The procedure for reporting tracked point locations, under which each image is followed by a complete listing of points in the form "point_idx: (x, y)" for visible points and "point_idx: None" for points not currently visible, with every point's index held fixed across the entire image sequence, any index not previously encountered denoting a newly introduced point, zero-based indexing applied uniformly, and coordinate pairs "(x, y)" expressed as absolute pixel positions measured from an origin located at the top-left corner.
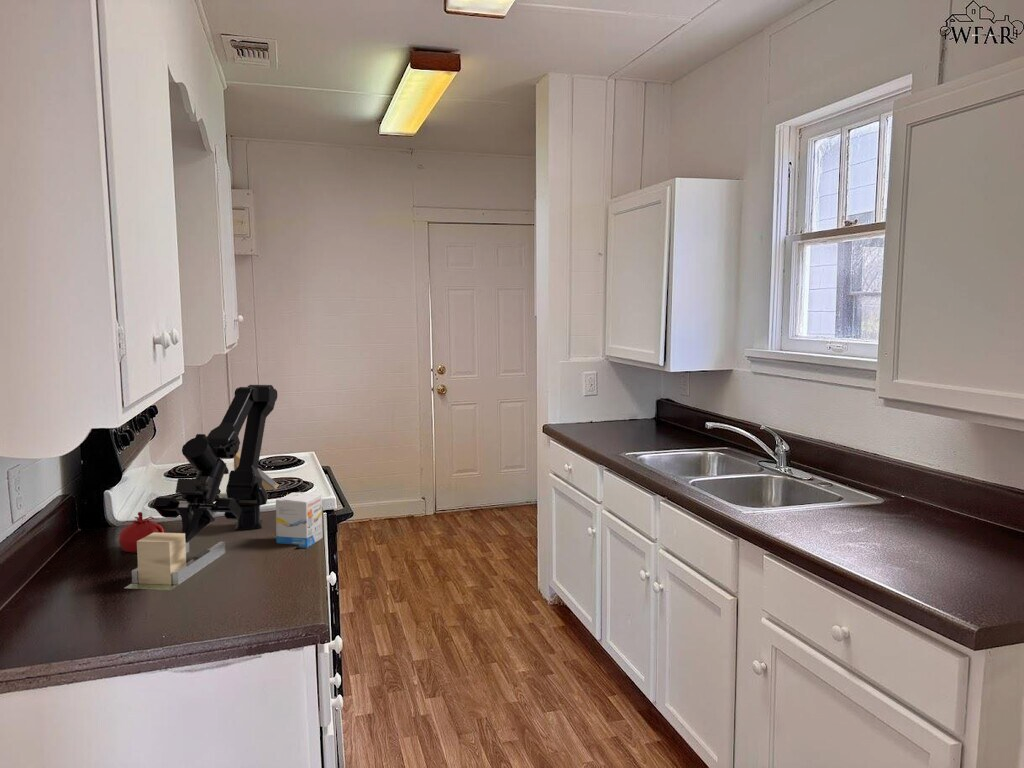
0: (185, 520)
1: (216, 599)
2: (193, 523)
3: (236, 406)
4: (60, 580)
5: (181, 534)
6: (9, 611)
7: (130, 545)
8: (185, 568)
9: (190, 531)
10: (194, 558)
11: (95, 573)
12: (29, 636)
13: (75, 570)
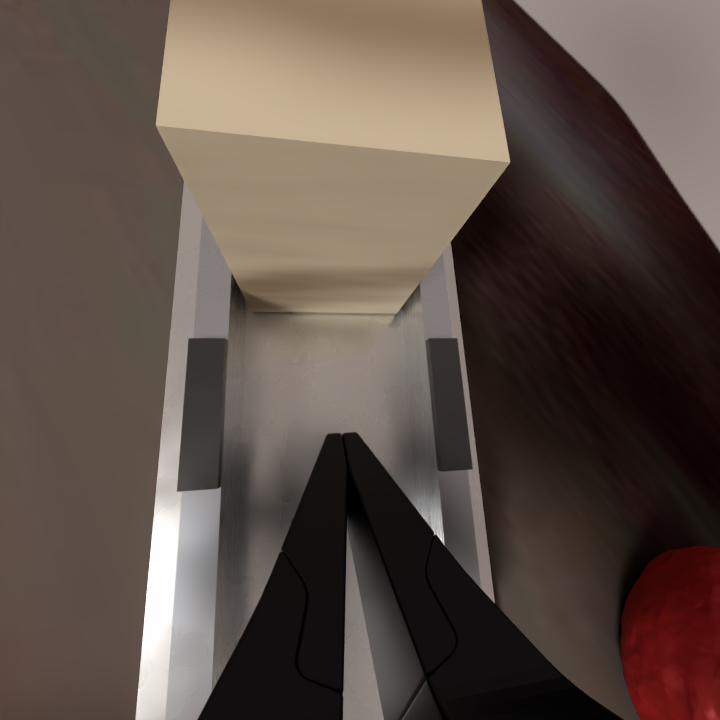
0: (441, 615)
1: (11, 118)
2: (291, 589)
3: None
4: (664, 266)
5: (179, 91)
6: (593, 78)
7: (716, 548)
8: (204, 220)
9: (307, 493)
10: (216, 340)
11: (620, 332)
12: None
13: (701, 353)
